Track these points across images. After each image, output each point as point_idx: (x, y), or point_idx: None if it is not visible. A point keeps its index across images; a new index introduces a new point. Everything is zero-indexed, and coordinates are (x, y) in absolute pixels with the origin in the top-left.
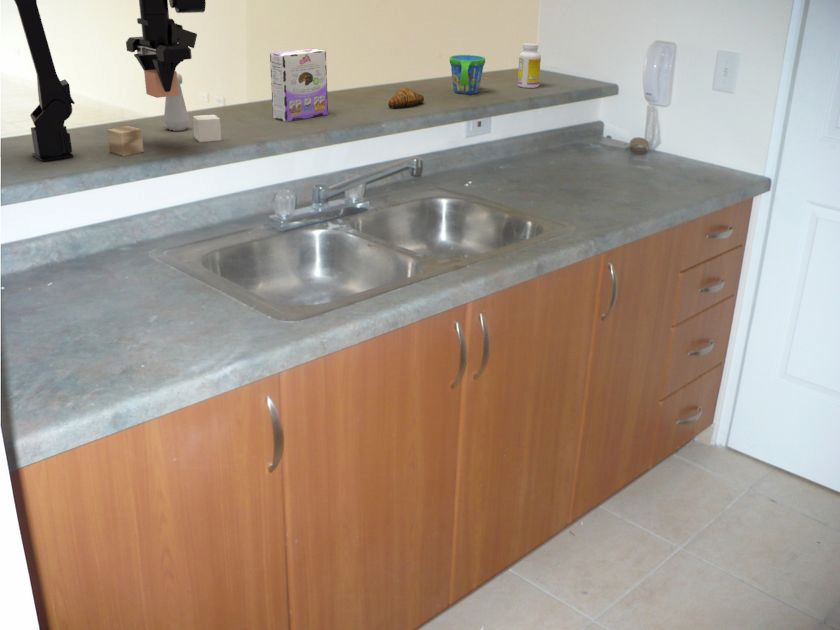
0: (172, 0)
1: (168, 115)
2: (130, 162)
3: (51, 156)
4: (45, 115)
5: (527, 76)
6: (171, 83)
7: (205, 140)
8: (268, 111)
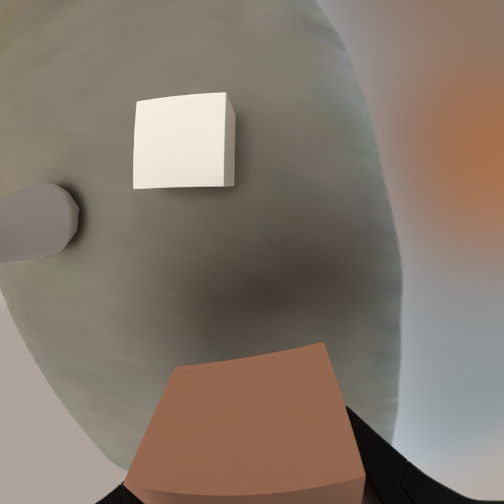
0: None
1: (50, 250)
2: (371, 388)
3: None
4: None
5: None
6: (374, 433)
7: (234, 165)
8: (23, 16)
